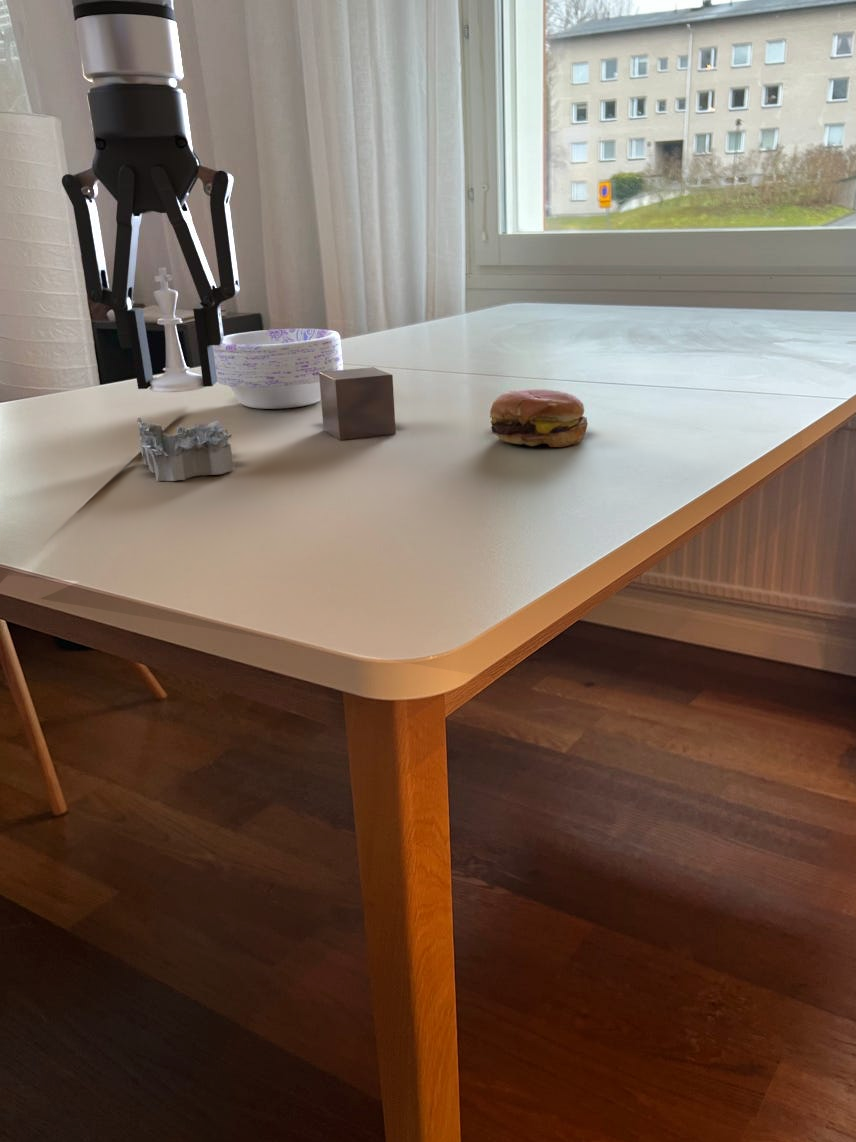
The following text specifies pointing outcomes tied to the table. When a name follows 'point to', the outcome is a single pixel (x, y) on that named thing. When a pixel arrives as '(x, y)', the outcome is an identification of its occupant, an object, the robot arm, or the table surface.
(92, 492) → the table surface
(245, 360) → the paper bowls
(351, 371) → the walnut block
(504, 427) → the burger
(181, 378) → the chess piece
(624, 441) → the table surface
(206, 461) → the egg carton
